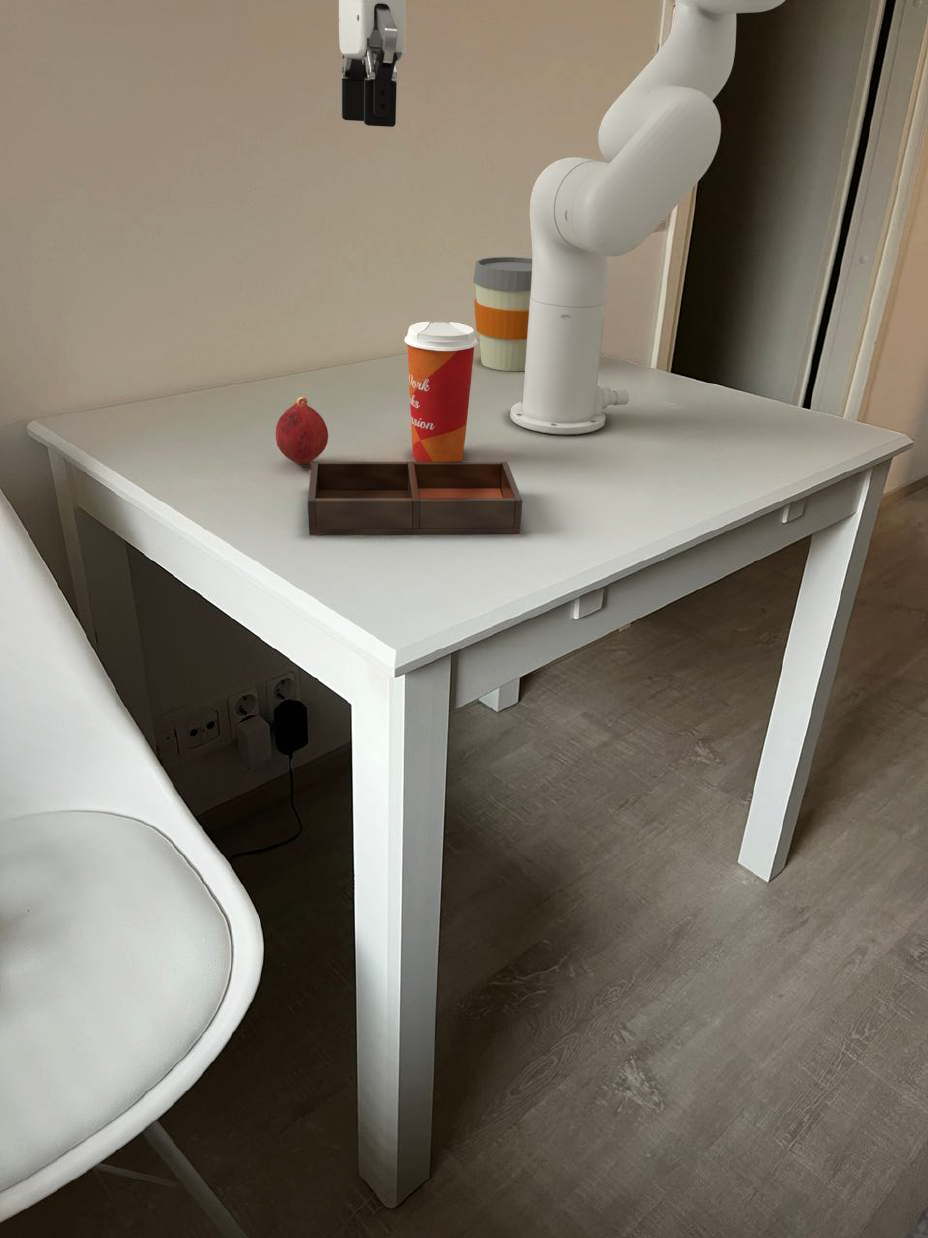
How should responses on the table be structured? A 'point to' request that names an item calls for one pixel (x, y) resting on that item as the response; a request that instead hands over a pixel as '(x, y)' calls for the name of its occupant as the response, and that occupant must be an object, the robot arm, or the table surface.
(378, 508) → the organizer
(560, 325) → the robot arm
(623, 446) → the table surface
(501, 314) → the reusable coffee cup
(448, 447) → the coffee cup
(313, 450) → the red round fruit
